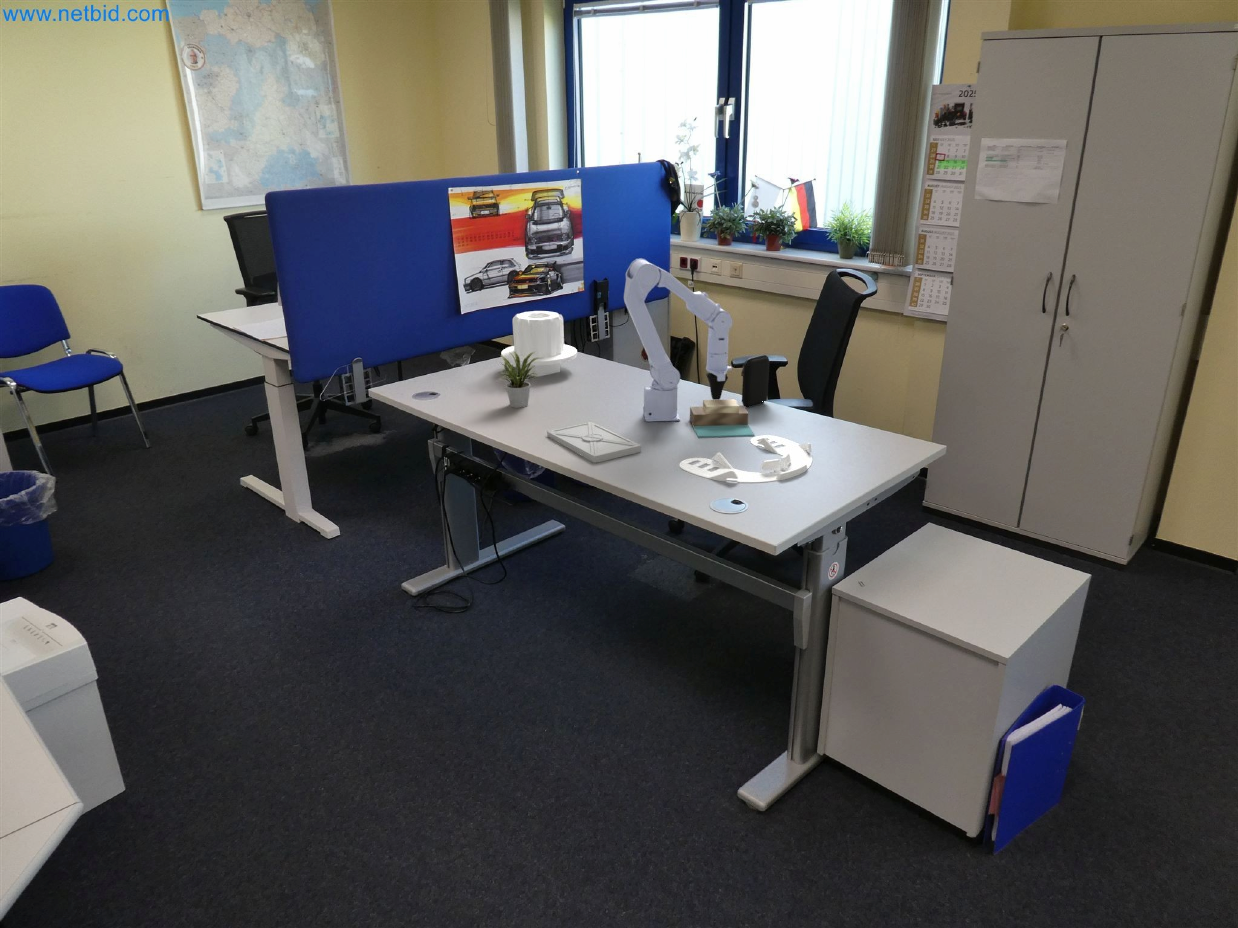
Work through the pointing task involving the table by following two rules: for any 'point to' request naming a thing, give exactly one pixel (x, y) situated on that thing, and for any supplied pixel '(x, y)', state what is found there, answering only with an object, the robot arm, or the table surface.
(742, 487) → the table surface
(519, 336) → the flanged gear
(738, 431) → the teal mat
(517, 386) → the house plant
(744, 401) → the carrying case or bag
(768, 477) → the cable organizer
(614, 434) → the envelope
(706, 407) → the cream rectangular block
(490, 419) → the table surface
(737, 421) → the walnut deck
